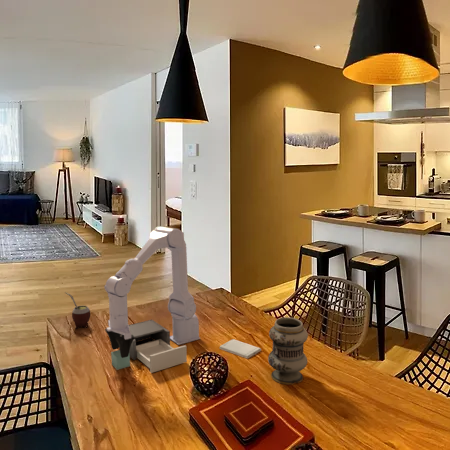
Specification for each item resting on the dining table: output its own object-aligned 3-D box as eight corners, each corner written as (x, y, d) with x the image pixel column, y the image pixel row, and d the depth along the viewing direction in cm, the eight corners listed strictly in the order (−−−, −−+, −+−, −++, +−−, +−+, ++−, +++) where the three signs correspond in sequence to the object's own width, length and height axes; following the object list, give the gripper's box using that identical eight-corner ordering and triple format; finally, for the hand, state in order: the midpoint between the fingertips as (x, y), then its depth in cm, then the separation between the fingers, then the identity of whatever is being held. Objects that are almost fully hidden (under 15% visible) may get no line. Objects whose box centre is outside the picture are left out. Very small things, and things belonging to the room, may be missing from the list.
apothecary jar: (282, 390, 131) (283, 332, 128) (260, 372, 141) (261, 318, 138) (314, 380, 136) (316, 324, 133) (291, 364, 147) (292, 312, 144)
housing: (152, 336, 170) (151, 319, 168) (170, 349, 158) (169, 331, 157) (117, 345, 161) (116, 327, 160) (133, 359, 150) (132, 340, 149)
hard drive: (219, 346, 158) (247, 355, 151) (233, 338, 165) (261, 347, 157) (219, 350, 159) (247, 360, 151) (233, 342, 165) (261, 351, 157)
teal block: (124, 361, 150) (124, 348, 149) (130, 366, 146) (129, 353, 145) (111, 364, 147) (111, 352, 146) (117, 370, 143) (116, 357, 143)
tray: (162, 344, 162) (162, 329, 161) (186, 361, 148) (186, 345, 147) (129, 353, 154) (128, 338, 153) (151, 372, 141) (150, 356, 140)
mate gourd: (94, 325, 181) (92, 290, 178) (79, 332, 174) (76, 295, 172) (82, 321, 185) (80, 287, 182) (66, 328, 178) (64, 292, 176)
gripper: (98, 309, 147) (100, 348, 149) (115, 322, 136) (117, 364, 138) (118, 305, 151) (120, 342, 153) (136, 317, 140) (138, 358, 142)
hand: (120, 352), depth 146 cm, fingers open, 7 cm apart
